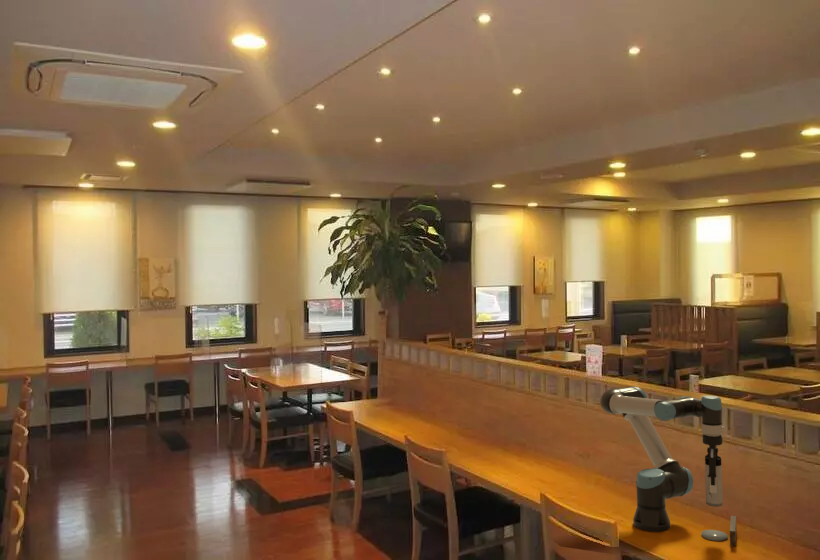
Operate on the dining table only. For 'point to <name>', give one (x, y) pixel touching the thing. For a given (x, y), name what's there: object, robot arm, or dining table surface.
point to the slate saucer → (714, 535)
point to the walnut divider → (733, 531)
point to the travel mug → (716, 498)
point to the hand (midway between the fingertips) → (713, 489)
